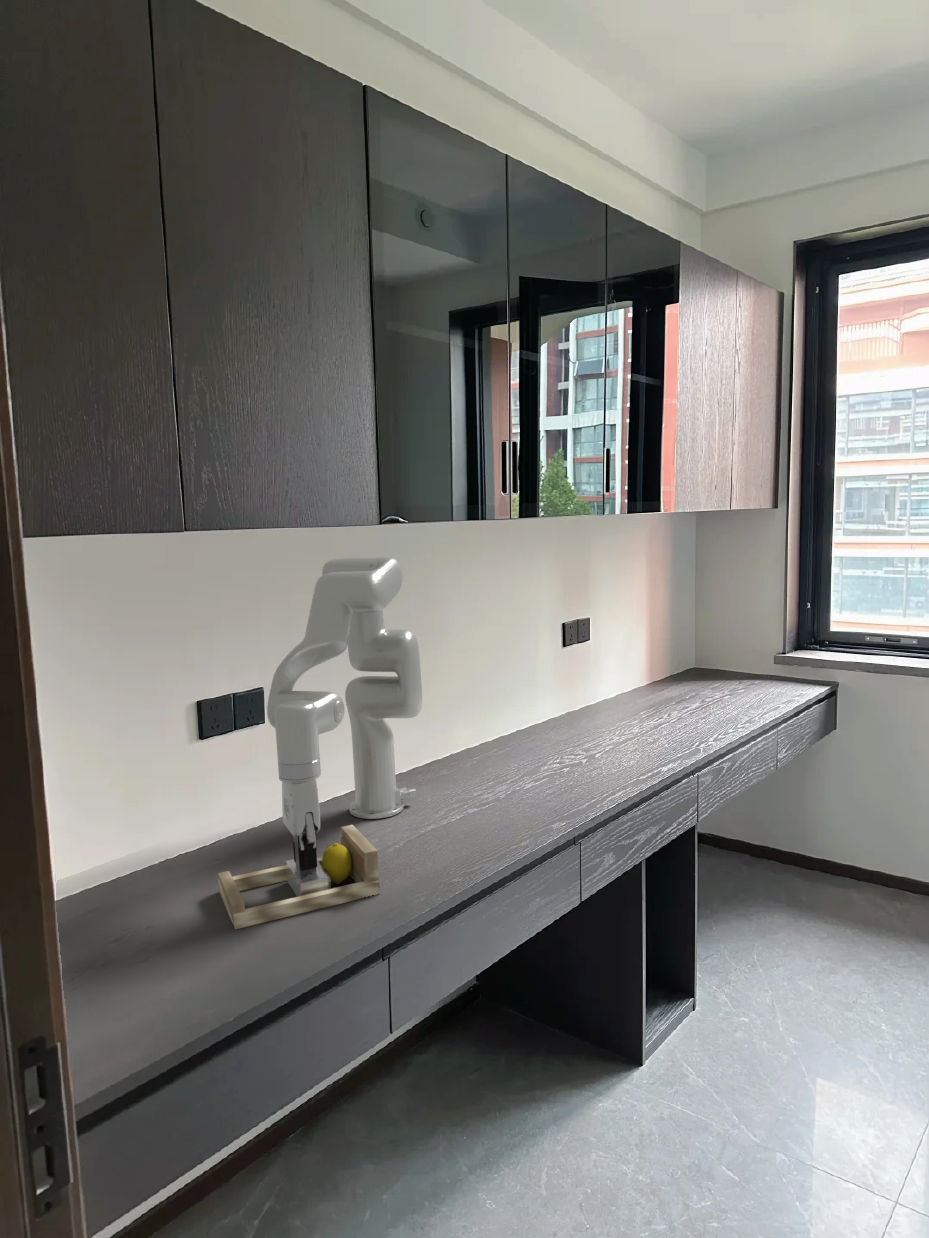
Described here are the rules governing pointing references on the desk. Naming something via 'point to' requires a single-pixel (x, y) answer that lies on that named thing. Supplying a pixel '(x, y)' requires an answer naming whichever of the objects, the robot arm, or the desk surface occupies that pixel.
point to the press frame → (361, 873)
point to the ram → (306, 875)
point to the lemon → (337, 862)
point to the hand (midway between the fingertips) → (305, 863)
